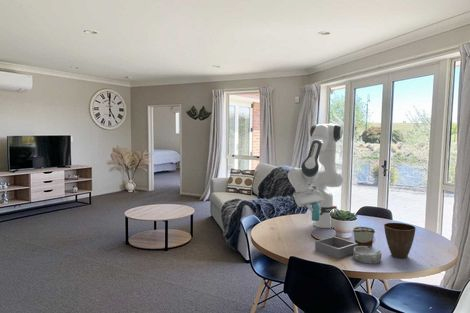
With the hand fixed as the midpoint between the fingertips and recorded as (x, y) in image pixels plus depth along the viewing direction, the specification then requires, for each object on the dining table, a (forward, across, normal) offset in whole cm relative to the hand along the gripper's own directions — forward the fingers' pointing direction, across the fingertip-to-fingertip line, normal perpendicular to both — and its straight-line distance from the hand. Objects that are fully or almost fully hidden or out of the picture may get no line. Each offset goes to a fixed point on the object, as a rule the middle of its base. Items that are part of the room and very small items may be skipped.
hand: (316, 210), depth 192 cm
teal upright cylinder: (+4, 0, +5) cm, 6 cm away
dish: (+36, +5, -6) cm, 37 cm away
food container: (+25, +22, +4) cm, 34 cm away
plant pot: (+41, +23, -11) cm, 48 cm away
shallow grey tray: (+24, +2, +5) cm, 25 cm away
